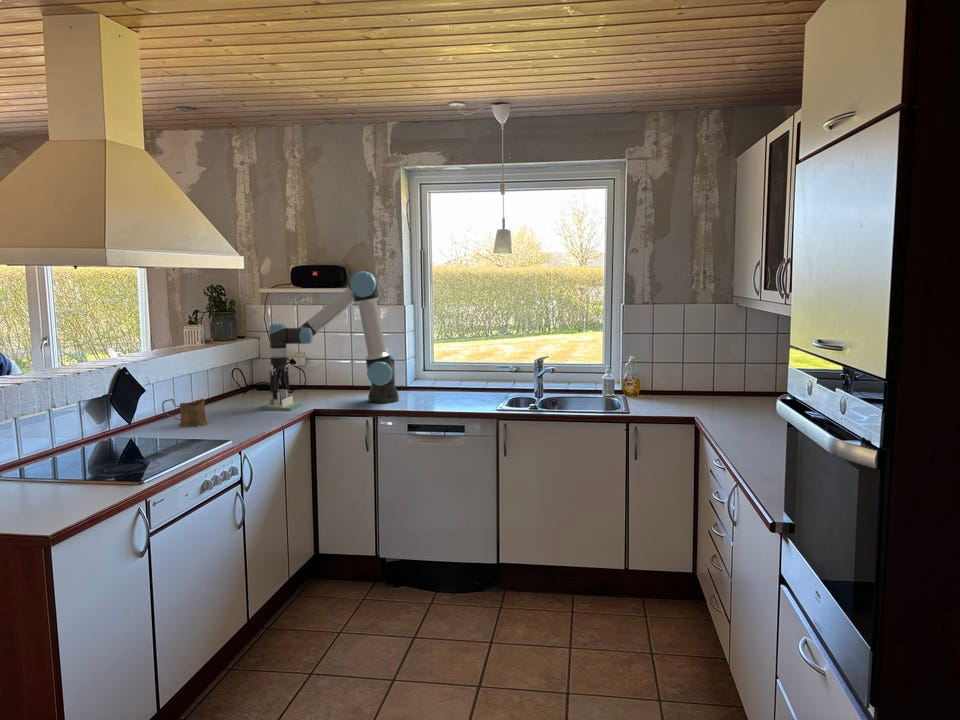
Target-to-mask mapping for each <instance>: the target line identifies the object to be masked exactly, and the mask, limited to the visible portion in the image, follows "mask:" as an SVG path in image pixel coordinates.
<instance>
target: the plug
mask: <svg viewBox="0 0 960 720" xmlns="http://www.w3.org/2000/svg"><path fill="white" fill-rule="evenodd" d="M278 392H279V399H280V405H281V400H283V399H285V390H284V389H282V388H281V389H278ZM271 393H272V394H271V395H272V396H273V392H271ZM273 403H274V400H273Z"/></svg>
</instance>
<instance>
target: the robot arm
mask: <svg viewBox="0 0 960 720" xmlns="http://www.w3.org/2000/svg"><path fill="white" fill-rule="evenodd" d="M349 282H350V283H349V284H348V285H347V286H346V287H347V288H346V289H345V290H343V291H342V292H341V293H340V294H338V296H336V297H334V298H333V299H332V300H331V301H330V302H328V303H327V304H326V305H325V306H324V307H323V308H321V309H320V310H319V311H317V313H315V314H314V315H313V316H312V317H310V318H309V319H308V320H307V321H305V322H304V323H302V325H300V326H298V327H292V328H291V327H287V326H286V323H272V324H270V325H269V331H268V332H269V333H268V335H269V352H270V354H269V355H270V365H271V366H273V370H270V371H269V375H270V377H269V379H270V381H269V382H270V383H269V384H270V386H269V390H270V391H269V392H270V393H272V392H273V395H272V398H273V400H274V405H280V399H279V392H278V390H280V389H279V388H280V386H281V389H284V390H285V398H288V390H290V377H289V366H286V365H288V357H287V356H288V353H287V352H288V347H287V346H288V345H294V344H295V345H301V344H302V345H307V344H312V342H313V339H314V338H313V337H314V336H316V334H318V333H319V332H320V331H322V330H323V329H324V328H325V327H327V325H329V324H330V323H331V322H333V321H334V320H335V319H337V318H338V317H339V316H340V315H342V313H344V312H345V311H346V310H347V309H349V308H351V306H352V305H354V304H355V303H356V304H357V306H358V309H359V315H360V319H361V324H362V330H363V337H364V342H365V346H366V352H367V356H366V357H365V363H366V370H367V371H366V376H367V379H368V381H369V382H370V383H371V386H370V389H369V393H368V395H367V401H368V402H369V403H372V404H389V403H390V404H391V403H396V402H398V401H399V400H400V397H399V392H398V390H397V387H396V380H395V379H396V376H395V375H396V374H395V361H396V360H395V356H394V355H393V354H390V353H389V352H387V350H386V345H385V341H384V334H383V330H382V324H381V318H380V311H379V309H378V300H379V298H380V295H379V289H378V285H379V281H378V278H377V276H376V275H375V274H374V273H373V272H371V271H367V270H361V271H358V272H356V273H354V274H353V275H352V276H351V279H350V281H349Z"/></svg>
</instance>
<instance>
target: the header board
mask: <svg viewBox="0 0 960 720" xmlns="http://www.w3.org/2000/svg"><path fill="white" fill-rule="evenodd" d="M293 399H294V397H293V396H292V395H291V396H287V398H285V399H283V400H281V405H274V403H273V397H272V398H269V399H268V400H267V401H268V403H266V404H262V405H261V406H259V407H258V409H259V411H260V410H262V411H263V410H264V411H284V412H285V411H286V412H291V411H294V410H296V409H298V408H300V407H303V403H301V402H300V403H299V402H294V400H293Z"/></svg>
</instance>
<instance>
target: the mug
mask: <svg viewBox="0 0 960 720" xmlns="http://www.w3.org/2000/svg"><path fill="white" fill-rule="evenodd" d="M169 401H170V402H171V401H172V404H173V406H175V407H177V408H180V418H177V417H176V416H174V415H172V414H168V413H166V411H165V407H164V405H165V403H167V402H169ZM161 405H162V406H161V407H162V412H163V413H164V415H166V416H168V417H172V418H174V419H175V420H177V421H180V423H179V424H178V427H179V428H183V427H194V428H199V427H198V426H201V427H204V426H203V425H205V426H207V425H209V422H208V420H207V419H206V405H205V399H204V398H201V399H197V400H193V401H189V402H180V403H179V405H177V404H176V403H175V399H174V398H169V399H165V400H163V402H162V404H161ZM206 424H207V425H206Z"/></svg>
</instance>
